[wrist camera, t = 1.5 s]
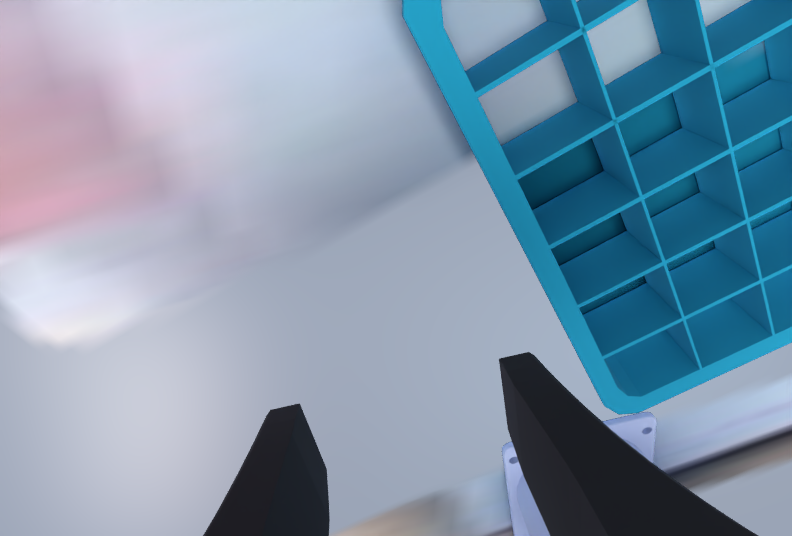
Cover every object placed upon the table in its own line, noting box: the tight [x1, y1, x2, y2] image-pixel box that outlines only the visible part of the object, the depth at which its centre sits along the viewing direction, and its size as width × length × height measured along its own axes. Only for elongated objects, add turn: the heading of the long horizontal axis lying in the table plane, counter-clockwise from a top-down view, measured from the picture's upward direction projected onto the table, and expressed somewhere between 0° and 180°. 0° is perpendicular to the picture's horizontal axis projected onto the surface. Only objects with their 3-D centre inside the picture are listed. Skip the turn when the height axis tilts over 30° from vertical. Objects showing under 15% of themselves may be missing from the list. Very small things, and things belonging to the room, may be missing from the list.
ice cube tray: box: [402, 0, 792, 414], centre depth 19 cm, size 12×20×3 cm, turn 30°
